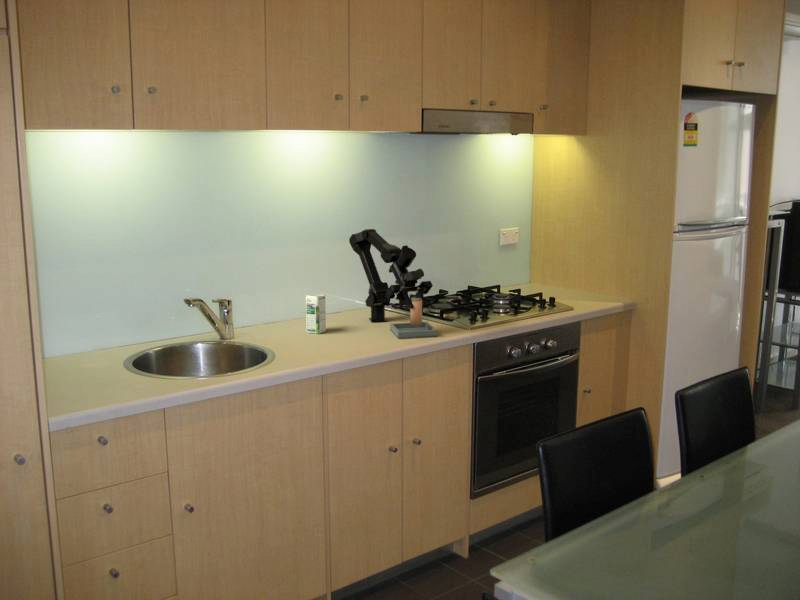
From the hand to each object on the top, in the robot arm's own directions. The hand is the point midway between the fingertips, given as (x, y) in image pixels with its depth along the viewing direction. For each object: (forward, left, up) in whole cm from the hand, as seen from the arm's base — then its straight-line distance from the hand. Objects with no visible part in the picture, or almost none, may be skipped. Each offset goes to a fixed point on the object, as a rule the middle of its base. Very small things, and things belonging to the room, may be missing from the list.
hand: (418, 307), depth 301 cm
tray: (-2, -2, -10) cm, 11 cm away
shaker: (-1, -1, -7) cm, 7 cm away
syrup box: (-13, -38, -11) cm, 41 cm away
